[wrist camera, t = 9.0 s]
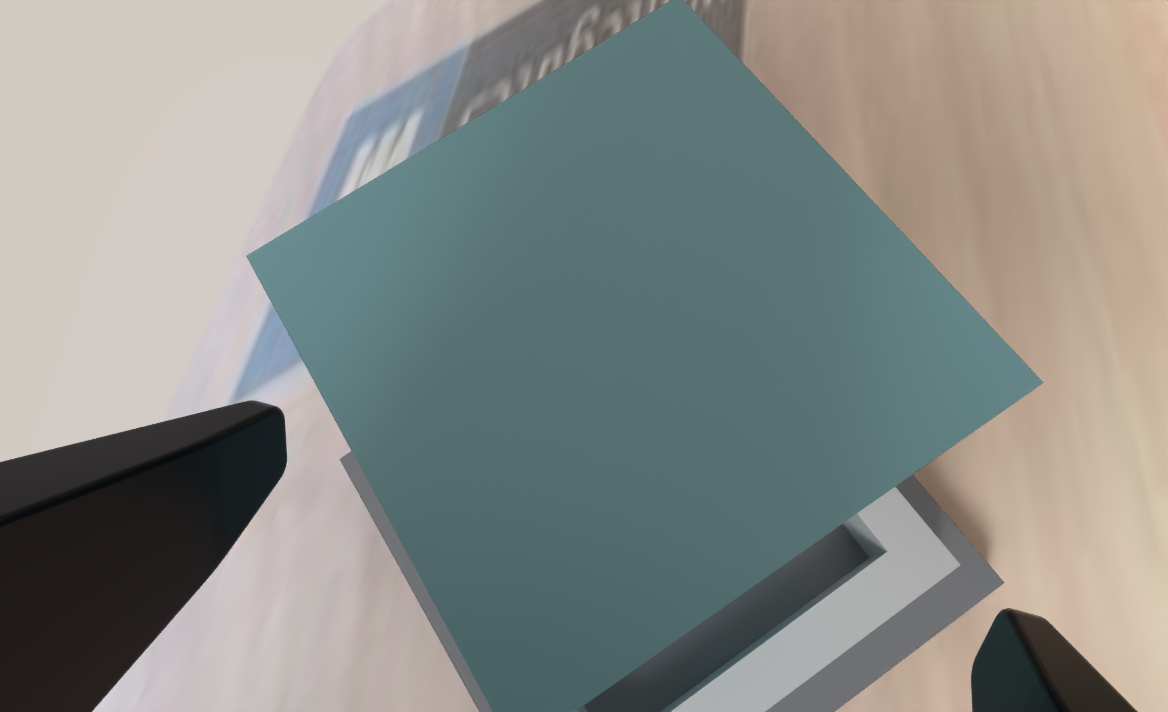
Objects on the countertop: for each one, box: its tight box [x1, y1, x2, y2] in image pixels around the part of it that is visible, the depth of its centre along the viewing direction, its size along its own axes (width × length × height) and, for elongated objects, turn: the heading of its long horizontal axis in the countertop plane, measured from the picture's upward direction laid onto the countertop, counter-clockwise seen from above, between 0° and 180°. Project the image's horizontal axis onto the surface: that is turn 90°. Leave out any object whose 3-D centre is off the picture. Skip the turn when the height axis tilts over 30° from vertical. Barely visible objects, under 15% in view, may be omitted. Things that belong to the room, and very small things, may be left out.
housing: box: [247, 0, 1043, 712], centre depth 12 cm, size 4×4×12 cm
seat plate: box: [340, 451, 1004, 712], centre depth 18 cm, size 11×11×2 cm
